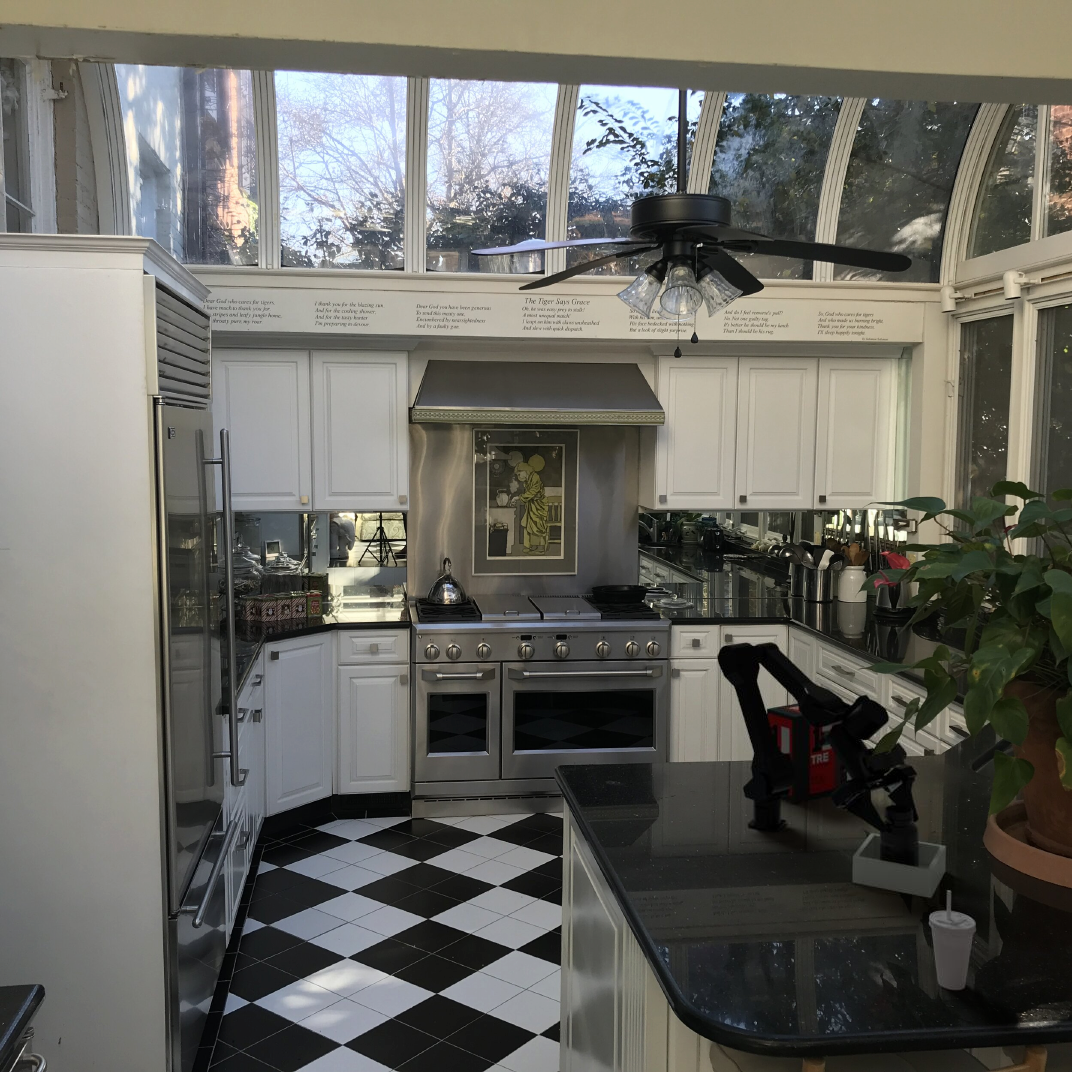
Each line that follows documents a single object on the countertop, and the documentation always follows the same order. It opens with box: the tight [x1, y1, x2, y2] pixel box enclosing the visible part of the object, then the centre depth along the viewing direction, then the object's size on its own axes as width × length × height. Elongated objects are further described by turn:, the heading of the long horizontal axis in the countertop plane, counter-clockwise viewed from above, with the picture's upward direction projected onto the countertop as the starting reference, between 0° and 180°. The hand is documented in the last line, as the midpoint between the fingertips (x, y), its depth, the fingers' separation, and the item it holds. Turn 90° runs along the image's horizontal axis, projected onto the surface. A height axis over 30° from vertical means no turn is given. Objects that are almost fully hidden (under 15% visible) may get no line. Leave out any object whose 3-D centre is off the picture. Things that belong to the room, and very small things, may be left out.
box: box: [852, 832, 947, 899], centre depth 187 cm, size 14×14×5 cm
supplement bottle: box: [879, 804, 920, 867], centre depth 187 cm, size 7×7×12 cm
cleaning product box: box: [766, 702, 848, 805], centre depth 235 cm, size 16×9×20 cm, turn 120°
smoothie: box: [928, 889, 977, 991], centre depth 149 cm, size 6×6×14 cm
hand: (900, 826), depth 187 cm, fingers open, 9 cm apart
